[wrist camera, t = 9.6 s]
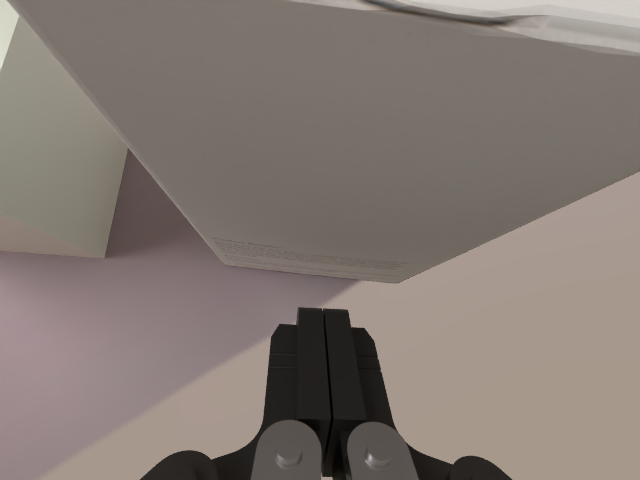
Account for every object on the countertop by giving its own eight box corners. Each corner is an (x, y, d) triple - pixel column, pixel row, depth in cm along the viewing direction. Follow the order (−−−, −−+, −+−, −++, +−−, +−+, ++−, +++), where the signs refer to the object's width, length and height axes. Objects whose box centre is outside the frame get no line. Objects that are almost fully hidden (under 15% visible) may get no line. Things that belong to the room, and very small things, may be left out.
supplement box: (405, 128, 20) (720, -376, 6) (400, 286, 18) (904, 90, 3) (243, 104, 19) (147, -545, 5) (215, 266, 17) (-114, -93, 3)
